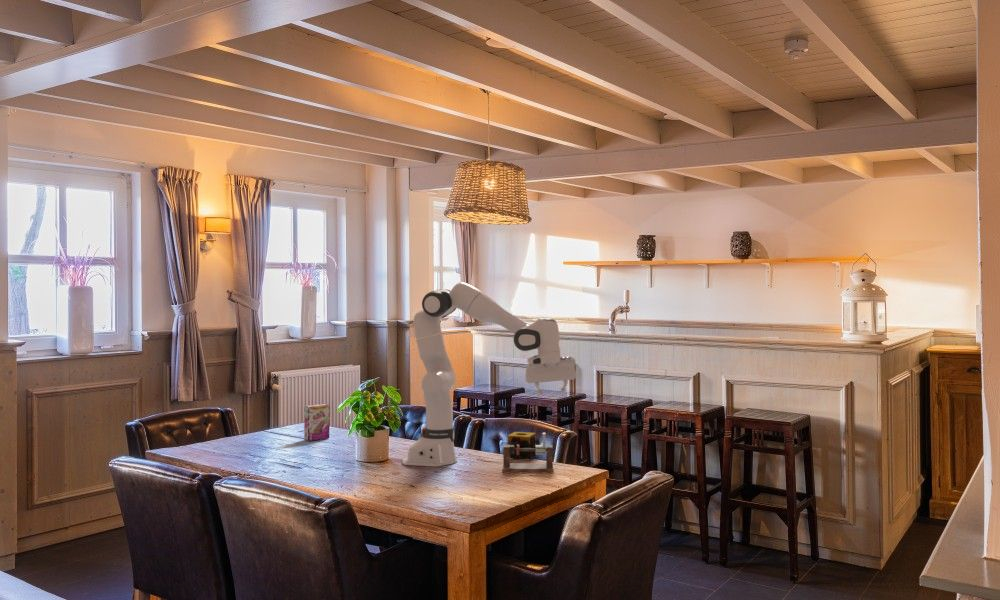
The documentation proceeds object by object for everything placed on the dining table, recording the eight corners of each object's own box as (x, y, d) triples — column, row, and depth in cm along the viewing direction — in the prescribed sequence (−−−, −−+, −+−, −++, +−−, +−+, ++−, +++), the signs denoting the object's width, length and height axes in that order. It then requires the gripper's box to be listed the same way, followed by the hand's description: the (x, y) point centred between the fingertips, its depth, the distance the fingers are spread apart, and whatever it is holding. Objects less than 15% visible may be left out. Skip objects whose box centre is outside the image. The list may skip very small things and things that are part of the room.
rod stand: (502, 472, 313) (502, 447, 313) (503, 466, 323) (503, 442, 322) (553, 472, 312) (553, 447, 311) (553, 467, 322) (553, 442, 321)
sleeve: (535, 454, 315) (535, 434, 315) (535, 452, 318) (535, 432, 318) (545, 454, 315) (545, 434, 315) (545, 453, 318) (545, 432, 318)
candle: (529, 460, 334) (529, 437, 334) (507, 459, 337) (506, 435, 337) (536, 455, 344) (536, 432, 343) (514, 454, 347) (514, 431, 347)
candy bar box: (308, 441, 376) (308, 407, 376) (303, 440, 380) (303, 405, 380) (330, 438, 383) (329, 404, 383) (325, 437, 387) (325, 403, 387)
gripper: (572, 355, 323) (575, 389, 324) (523, 359, 320) (525, 393, 320) (576, 356, 317) (579, 391, 317) (526, 360, 314) (528, 395, 314)
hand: (551, 392), depth 319 cm, fingers open, 8 cm apart
